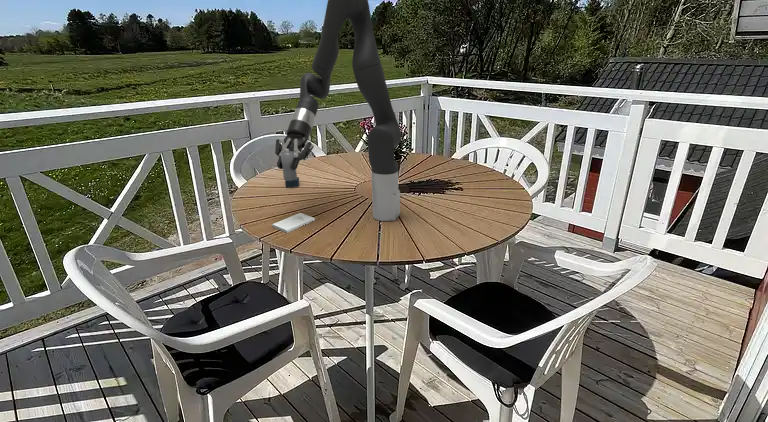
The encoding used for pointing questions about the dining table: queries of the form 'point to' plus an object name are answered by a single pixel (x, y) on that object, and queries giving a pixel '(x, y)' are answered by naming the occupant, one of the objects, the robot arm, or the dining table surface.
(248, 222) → the dining table surface
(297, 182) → the watch
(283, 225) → the external hard drive
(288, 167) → the grey upright cylinder
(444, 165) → the dining table surface
